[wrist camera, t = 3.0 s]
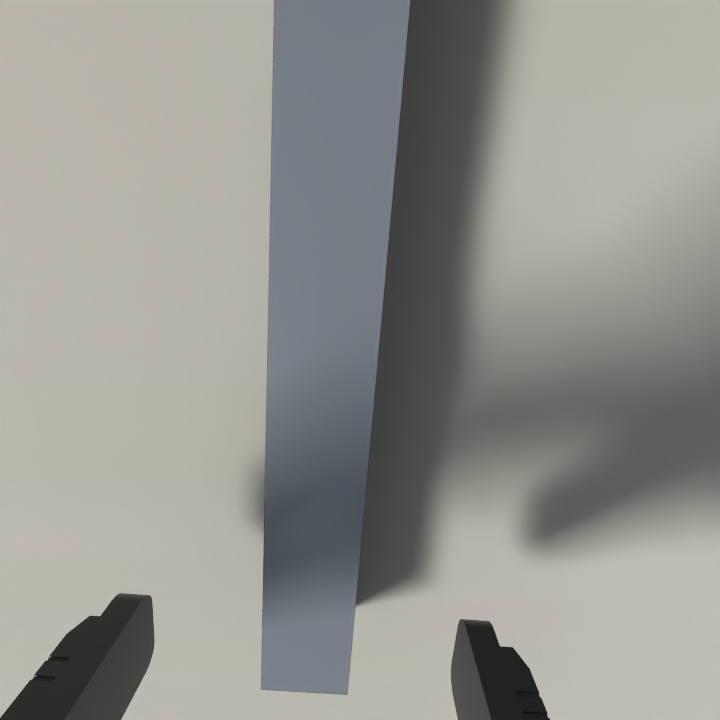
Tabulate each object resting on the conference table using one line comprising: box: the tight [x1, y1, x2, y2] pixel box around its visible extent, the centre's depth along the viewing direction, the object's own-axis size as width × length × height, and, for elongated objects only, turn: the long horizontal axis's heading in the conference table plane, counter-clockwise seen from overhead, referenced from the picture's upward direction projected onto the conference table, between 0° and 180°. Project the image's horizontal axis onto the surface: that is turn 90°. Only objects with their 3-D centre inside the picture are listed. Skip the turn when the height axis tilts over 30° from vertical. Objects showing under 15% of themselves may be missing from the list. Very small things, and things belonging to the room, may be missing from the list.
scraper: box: [261, 0, 410, 695], centre depth 10 cm, size 23×10×3 cm, turn 176°
